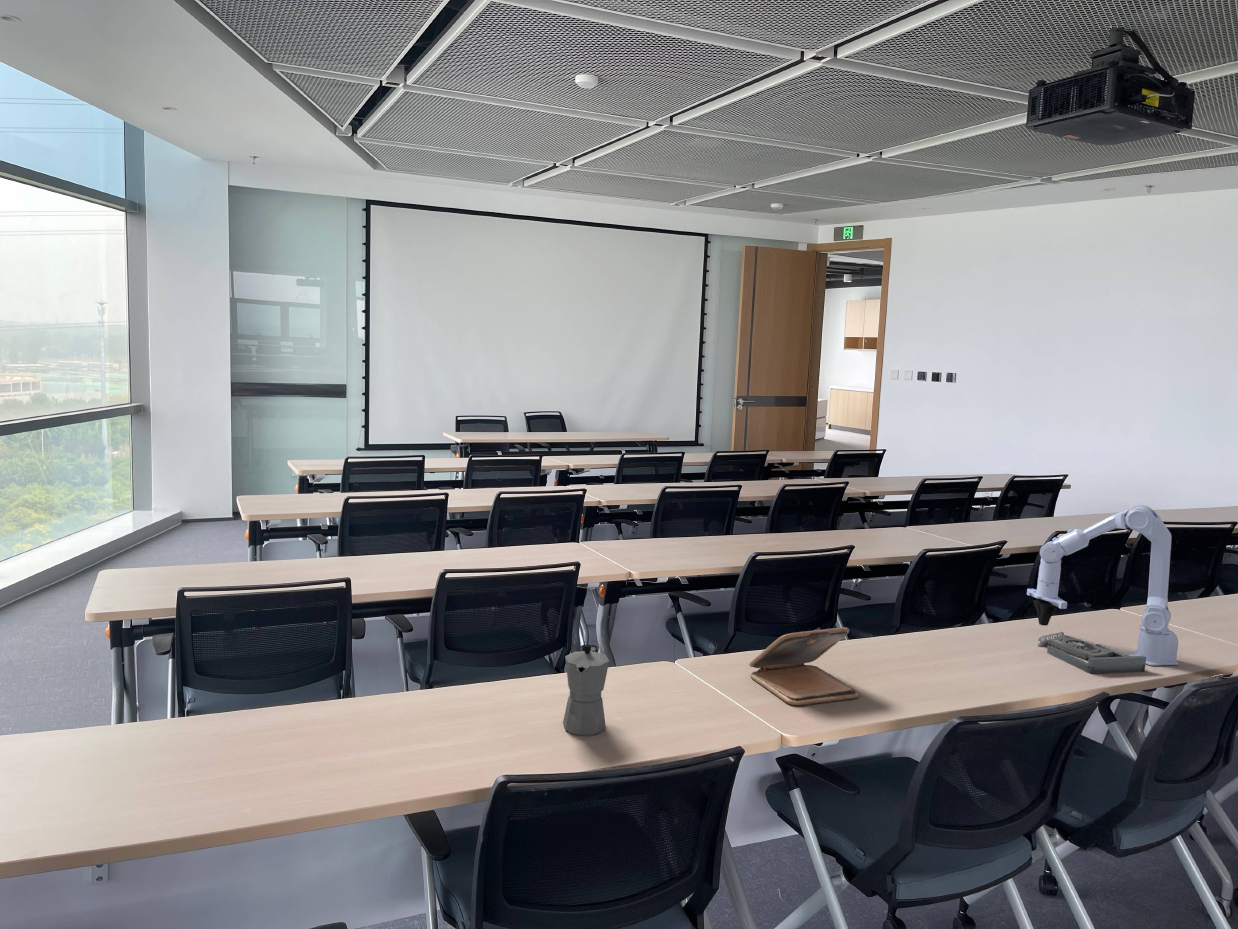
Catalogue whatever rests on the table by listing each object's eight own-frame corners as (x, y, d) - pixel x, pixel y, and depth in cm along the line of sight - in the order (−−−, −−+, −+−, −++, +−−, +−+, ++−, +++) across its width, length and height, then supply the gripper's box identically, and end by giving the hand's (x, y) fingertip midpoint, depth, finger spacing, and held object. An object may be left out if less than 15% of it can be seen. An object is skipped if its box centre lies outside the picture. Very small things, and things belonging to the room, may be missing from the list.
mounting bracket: (1098, 650, 241) (1100, 637, 240) (1144, 671, 225) (1146, 657, 225) (1047, 652, 237) (1048, 639, 237) (1090, 673, 221) (1092, 659, 221)
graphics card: (1035, 635, 243) (1061, 630, 248) (1033, 647, 243) (1060, 642, 249) (1090, 655, 228) (1116, 649, 233) (1088, 668, 228) (1115, 662, 234)
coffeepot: (600, 743, 168) (604, 657, 166) (555, 737, 169) (558, 653, 167) (612, 712, 183) (616, 633, 181) (571, 707, 184) (574, 629, 182)
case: (813, 668, 217) (817, 608, 215) (863, 699, 197) (868, 634, 195) (744, 676, 209) (748, 614, 207) (790, 709, 190) (794, 642, 188)
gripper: (1020, 575, 255) (1015, 617, 257) (1054, 588, 241) (1049, 633, 243) (1040, 574, 257) (1035, 617, 258) (1075, 587, 243) (1069, 632, 244)
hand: (1043, 624), depth 251 cm, fingers closed
